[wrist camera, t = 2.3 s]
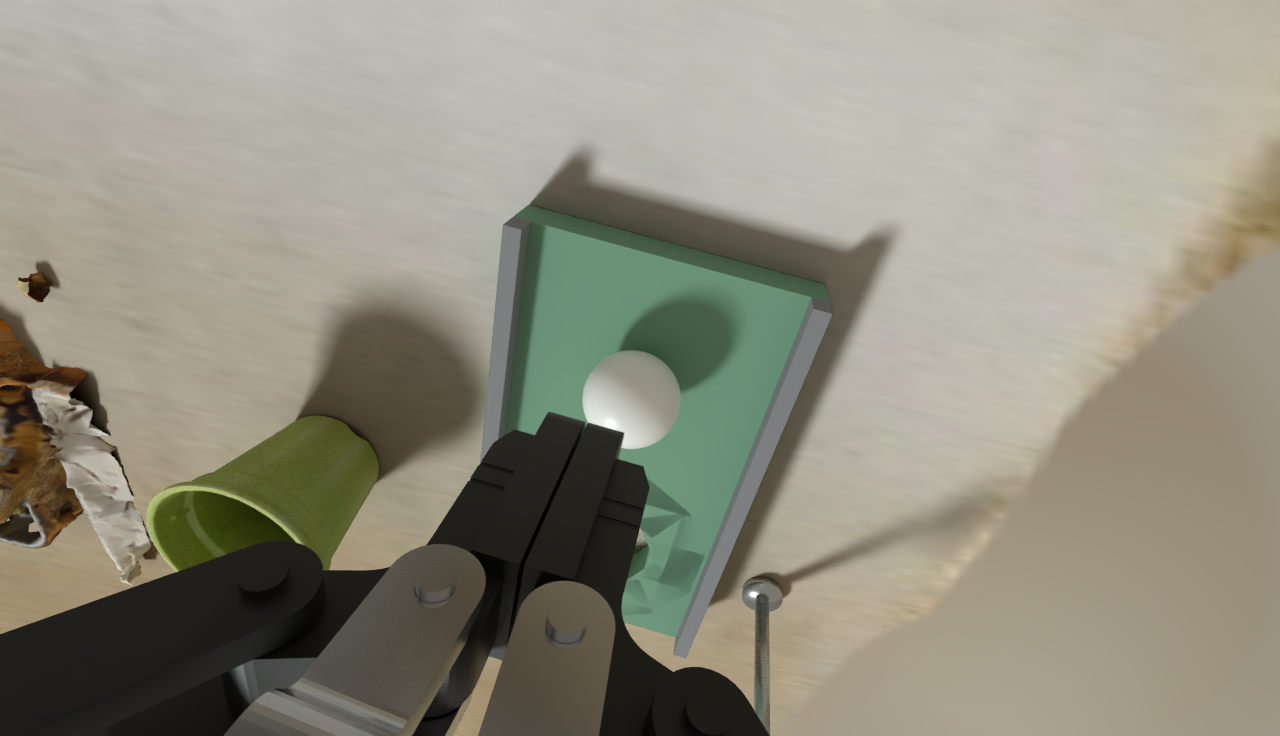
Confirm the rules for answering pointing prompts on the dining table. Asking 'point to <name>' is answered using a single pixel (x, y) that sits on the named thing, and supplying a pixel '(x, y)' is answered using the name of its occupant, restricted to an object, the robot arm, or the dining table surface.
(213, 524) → the plant pot
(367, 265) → the dining table surface
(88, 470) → the food tray
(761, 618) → the pin
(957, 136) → the dining table surface
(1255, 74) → the dining table surface
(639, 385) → the ball
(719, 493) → the lane
